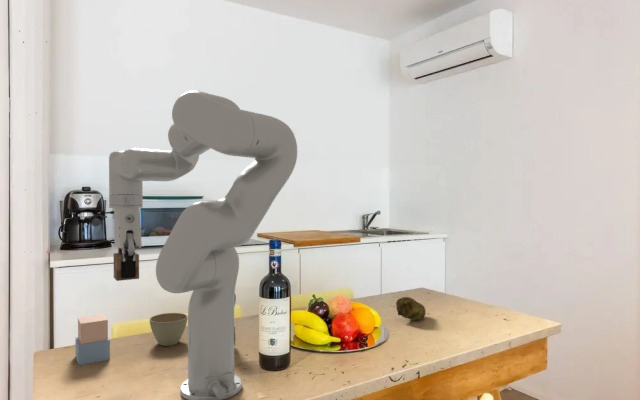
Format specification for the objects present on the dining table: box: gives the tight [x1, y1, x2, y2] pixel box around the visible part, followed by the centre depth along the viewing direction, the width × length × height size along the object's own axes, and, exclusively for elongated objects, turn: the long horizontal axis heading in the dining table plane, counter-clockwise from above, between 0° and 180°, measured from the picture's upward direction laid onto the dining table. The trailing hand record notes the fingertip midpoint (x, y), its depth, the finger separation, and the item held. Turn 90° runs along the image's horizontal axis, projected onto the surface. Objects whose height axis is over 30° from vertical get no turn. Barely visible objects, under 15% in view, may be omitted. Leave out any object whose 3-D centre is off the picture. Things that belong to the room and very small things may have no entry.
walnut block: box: [113, 251, 140, 282], centre depth 110 cm, size 5×5×6 cm
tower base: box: [75, 336, 111, 366], centre depth 113 cm, size 7×7×5 cm
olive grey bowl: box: [149, 312, 188, 347], centre depth 124 cm, size 10×10×7 cm
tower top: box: [77, 314, 109, 344], centre depth 113 cm, size 6×6×5 cm
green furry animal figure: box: [395, 296, 426, 322], centre depth 147 cm, size 8×13×8 cm, turn 119°
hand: (126, 275), depth 110 cm, fingers closed on walnut block, 5 cm apart
